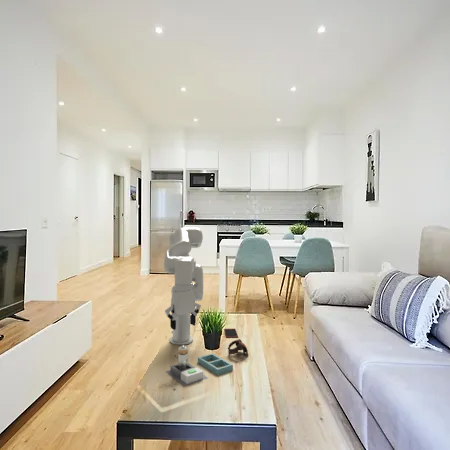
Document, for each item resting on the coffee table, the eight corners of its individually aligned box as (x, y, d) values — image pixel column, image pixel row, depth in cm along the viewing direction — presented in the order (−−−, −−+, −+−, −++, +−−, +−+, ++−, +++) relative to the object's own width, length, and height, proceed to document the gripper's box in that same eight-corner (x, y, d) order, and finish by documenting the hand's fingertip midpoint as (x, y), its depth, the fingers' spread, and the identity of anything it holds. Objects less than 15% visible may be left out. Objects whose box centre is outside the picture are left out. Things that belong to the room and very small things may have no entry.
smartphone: (226, 337, 200) (223, 328, 215) (225, 338, 200) (223, 329, 215) (238, 336, 200) (235, 328, 215) (238, 338, 200) (235, 329, 215)
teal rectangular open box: (197, 364, 164) (197, 357, 164) (212, 360, 169) (212, 353, 169) (217, 377, 151) (217, 369, 151) (232, 372, 156) (232, 364, 156)
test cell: (176, 371, 154) (176, 345, 153) (184, 369, 156) (184, 343, 156) (181, 375, 150) (181, 348, 150) (189, 372, 153) (189, 346, 153)
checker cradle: (165, 374, 154) (165, 364, 154) (188, 367, 161) (188, 357, 161) (183, 389, 141) (183, 377, 141) (208, 380, 148) (208, 370, 148)
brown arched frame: (249, 360, 171) (242, 346, 169) (232, 366, 173) (224, 353, 171) (249, 344, 183) (242, 332, 181) (233, 351, 185) (226, 339, 183)
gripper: (195, 284, 160) (195, 321, 161) (161, 288, 150) (161, 328, 150) (204, 286, 154) (204, 325, 155) (169, 291, 144) (169, 332, 144)
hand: (183, 326), depth 152 cm, fingers open, 9 cm apart
